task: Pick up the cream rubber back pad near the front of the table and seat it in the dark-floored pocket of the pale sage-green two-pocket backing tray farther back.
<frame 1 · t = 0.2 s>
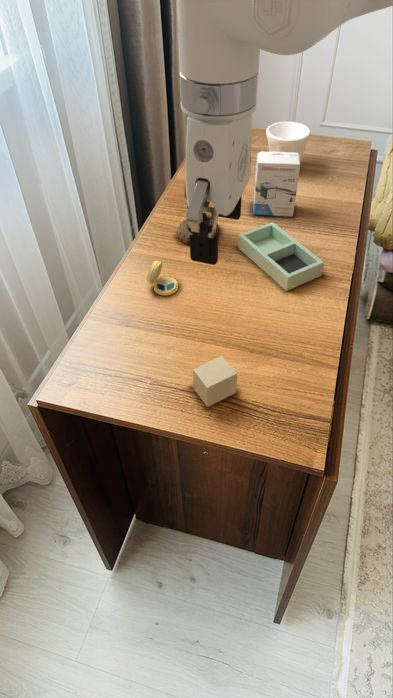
hand: (216, 238, 61), 23 cm above the table, tool pointing down, fingers open, 9 cm apart
pad tray: (278, 261, 95), on the table
cup: (283, 169, 119), on the table
eyeshadow: (164, 287, 91), on the table
back pad: (214, 390, 74), on the table
ink box: (273, 210, 107), on the table
figurine: (199, 234, 102), on the table
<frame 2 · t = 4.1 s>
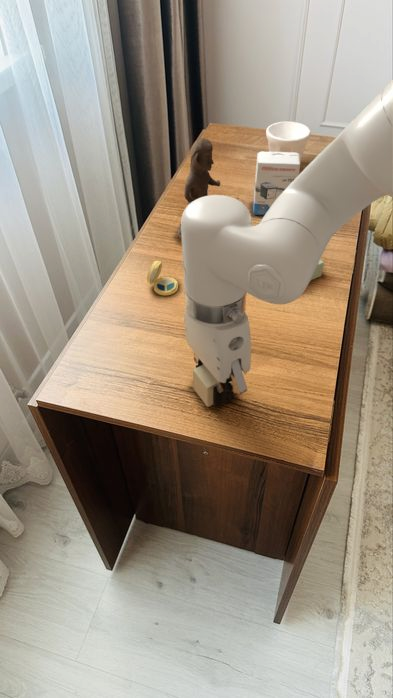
hand: (214, 389, 74), 0 cm above the table, tool pointing down, fingers closed on back pad, 4 cm apart
back pad: (214, 390, 74), on the table, touching gripper
everything else where it was.
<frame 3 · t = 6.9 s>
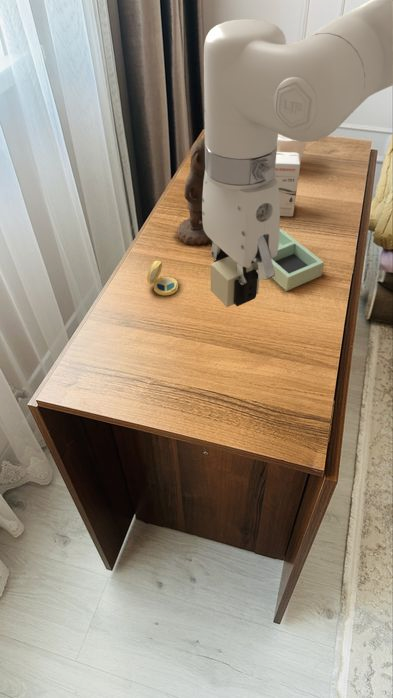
hand: (234, 290, 66), 15 cm above the table, tool pointing down, fingers closed on back pad, 4 cm apart
back pad: (234, 292, 66), point 15 cm above the table, touching gripper
everything else where it was.
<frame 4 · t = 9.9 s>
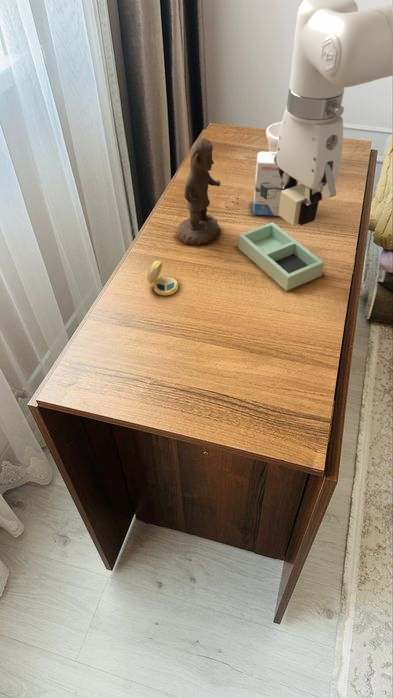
hand: (297, 214, 84), 12 cm above the table, tool pointing down, fingers closed on back pad, 4 cm apart
back pad: (297, 216, 84), point 12 cm above the table, touching gripper
everything else where it was.
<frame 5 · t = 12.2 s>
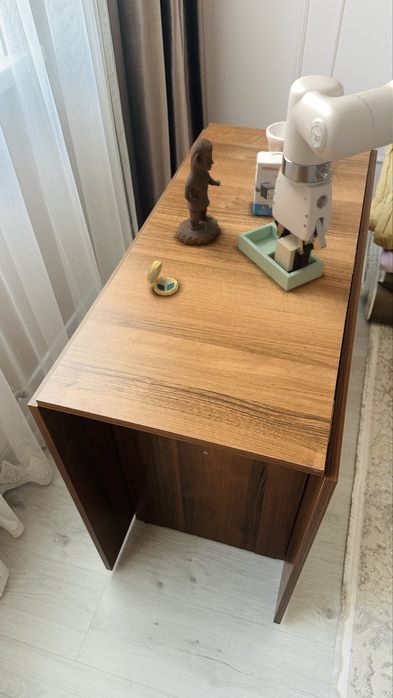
hand: (292, 260, 91), 3 cm above the table, tool pointing down, fingers closed on back pad, 4 cm apart
back pad: (291, 261, 91), point 2 cm above the table, touching gripper
everything else where it was.
when the fingers open (3 cm above the table, at t = 15.7 s): back pad drops 2 cm, resting on pad tray.
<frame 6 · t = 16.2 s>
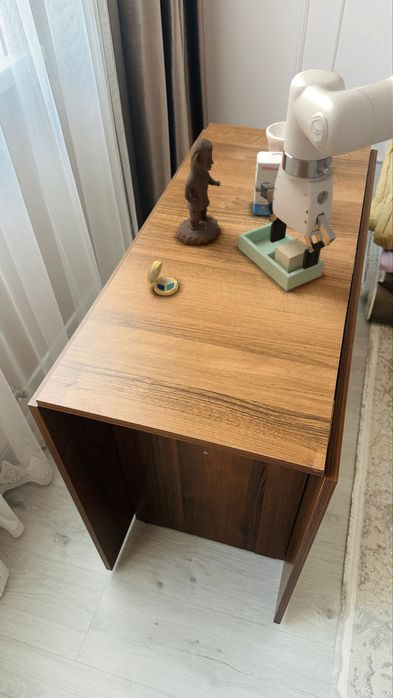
hand: (293, 252, 90), 4 cm above the table, tool pointing down, fingers open, 8 cm apart
back pad: (290, 268, 92), point 1 cm above the table, touching pad tray
everything else where it was.
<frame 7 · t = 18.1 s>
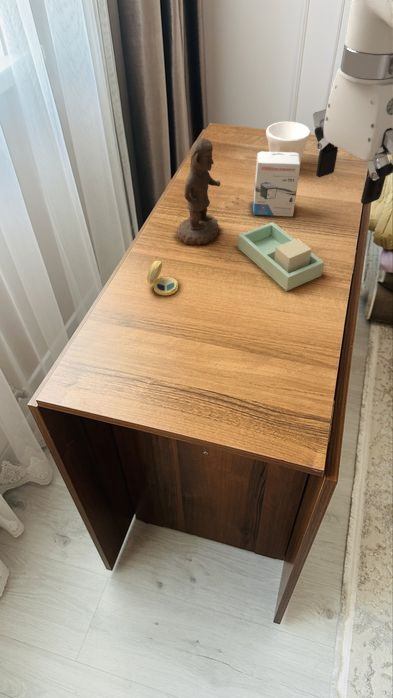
hand: (346, 187, 75), 20 cm above the table, tool pointing down, fingers open, 9 cm apart
nothing on the table moved.
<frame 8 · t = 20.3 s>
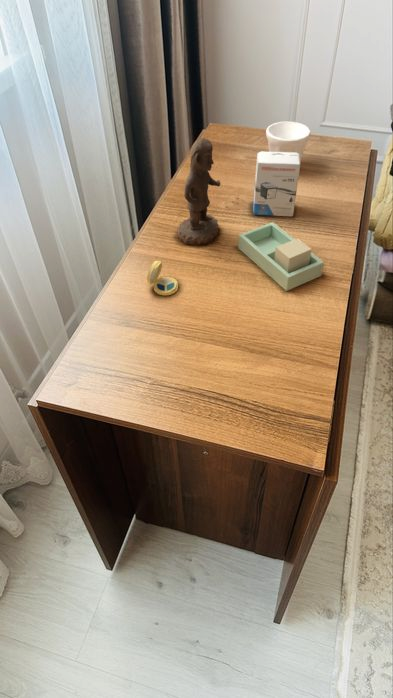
nothing on the table moved.
at the end: back pad 0.1 cm from the target spot in the pad tray, point 0.8 cm above the pad tray's base; back pad tilted 0°; the gripper is holding nothing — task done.
